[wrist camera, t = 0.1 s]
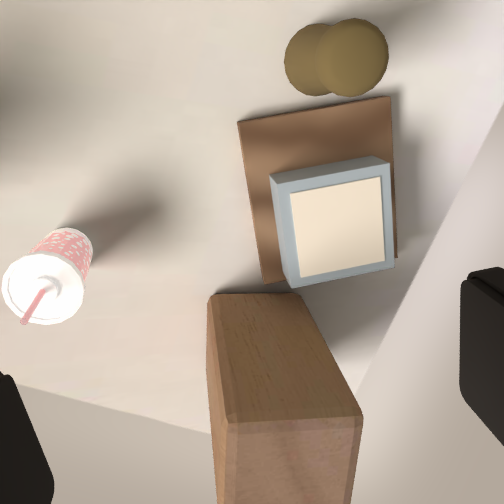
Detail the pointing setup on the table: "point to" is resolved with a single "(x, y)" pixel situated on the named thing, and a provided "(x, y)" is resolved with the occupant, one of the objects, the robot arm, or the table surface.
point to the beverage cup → (49, 278)
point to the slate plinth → (334, 220)
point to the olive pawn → (337, 58)
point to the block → (277, 404)
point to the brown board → (308, 157)
